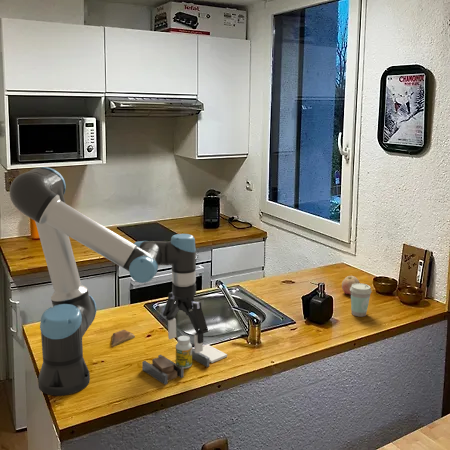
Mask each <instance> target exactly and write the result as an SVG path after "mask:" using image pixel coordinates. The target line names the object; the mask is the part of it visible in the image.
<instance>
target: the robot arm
mask: <svg viewBox="0 0 450 450" xmlns="http://www.w3.org/2000/svg"><path fill="white" fill-rule="evenodd" d="M65 194H66V181H65V178H64V177H63V175H62V174H61V173H60V172H59V171H57V170H56V169H54V168H51V167H47V166H41V167H36V168H32V169H31V170H29V171H27V172H24V173H21V174H19V175H17V176H16V177H15V178H14V179H13V181H12V182H11V184H10V187H9V197H10V201H11V203H12V205H13V206H14V207H15V208H16V209H17V210H18V211H20V213H22V215H23V214H24V215H25V216H26V217H28V218H29V219H31V220H33V221H34V222H35V226H36V228H37V229H36V230H37V233H38V237H39V240H40V243H41V247H42V251H43V252H42V253H43V255H44V259H45V262H46V266H47V270H48V273H49V277H50V281H51V285H52V289H53V293H52V295H51V296H50V300H51V304H52V307H51V306H50V307H48V308H47V309H46V310H44V311H43V312H42V313H41V314H42V315H40V325H39V329H40V337H41V350H42V365H41V367H40V372H39V375H38V377H37V378H38V379H37V383H38V389H39V390H40V391H41V392H42V393H43V394H46V395H48V396H49V395H50V396H56V397H58V396H59V397H60V396H68V395H71V394H72V395H73V394H75V393H79V392H81V391H82V390H84V389H85V388H86V387H87V386H88V385H89V384H90V381H91V377H90V375H91V374H90V369H89V368H88V366H87V364H86V361H85V358H84V354H83V353H84V352H83V351H84V349H83V337H84V336H85V334H86V332H87V331H88V329H89V328H90V326H91V325H92V324H93V322H94V321H95V318H96V315H97V303H96V301H95V299H94V297H93V296H92V295H90V294H89V289H88V287H87V286H86V285H83V284H82V282H81V278H80V274H79V270H78V266H77V263H76V259H75V255H74V251H73V247H72V243H71V239H73V240H74V241H76V242H78V243H79V244H81V245H83V246H85V247H86V248H88V249H90V250H92V251H93V252H95V253H97V254H98V255H100V256H102V257H104V258H105V259H106V260H109V261H111V262H112V263H114V264H116V265H117V266H119V267H121V268H123V269H125V270H126V271H128V273H129V275H130V278H131V279H132V280H134V281H135V282H136V283H141V284H144V283H148V282H149V283H150V281H152V279H154V277H155V276H156V275H157V273H158V269H159V267H160V266H171V282H172V285H171V288H172V289H171V292H168V297H167V301H166V304H165V307H164V310H163V313H162V316H163V317H165V318H166V320H167V329H168V333H167V334H168V336H167V337H168V340H172V339H175V338H177V319H176V315H177V314H178V313H179V311H182V312H183V313H185V315H186V316H188V318H189V320H190V322H191V325H192V326H193V328H194V331H195V332H194V334H193V336H194V350H195V353H198V352H201V351H203V346H204V335H205V334H206V333H209V328H208V325H207V321H206V319H205V315H204V312H203V309H202V302H201V301H195V295H197V283H196V281H197V277H196V276H197V272H196V270H197V268H196V266H197V265H196V264H197V263H196V262H197V261H196V259H197V258H196V257H197V254H196V253H197V252H196V250H197V248H196V239H195V237H194V235H192V234H189V233H177V234H174V235H172V236H171V238H170V240H169V241H163V240H162V241H159V240H158V241H153V240H152V241H151V240H150V241H148V240H142V241H135V242H131V241H130V240H129V239H126V238H124V237H123V236H121V235H119V234H117V233H116V232H114V231H113V230H111V229H109V228H108V227H106V226H104V225H103V224H101V223H99V222H97V221H96V220H94V219H93V218H91V217H89V216H87V215H86V214H84V213H82V212H80V211H79V210H77V209H75V208H74V207H73V206H71V205H69V204H67V203H66V200H65V196H64V195H65ZM70 238H71V239H70Z"/></svg>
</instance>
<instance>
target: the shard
mask: <svg viewBox="0 0 450 450" xmlns="http://www.w3.org/2000/svg"><path fill="white" fill-rule="evenodd" d="M135 337H136V335H135V334H133V333H132V332H130V331H128V330H126V329H122V330H119V331H116V332H113V333H112V338H111V347H112V348H113V347H116V346H119V345H120V344H122V343H124V342H126V341H129V340H131V339H134V338H135Z"/></svg>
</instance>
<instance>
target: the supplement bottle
mask: <svg viewBox="0 0 450 450" xmlns="http://www.w3.org/2000/svg"><path fill="white" fill-rule="evenodd" d="M192 348H193V345H192V343H191V337H190V336H189V335H180V336H178V337H177V343H176V344H175V363H176V364H177V365H179V366H181V367H182V368H184V370H185V369H189V368H190V367H192V365H193V359H192Z"/></svg>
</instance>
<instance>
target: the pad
mask: <svg viewBox="0 0 450 450" xmlns="http://www.w3.org/2000/svg"><path fill="white" fill-rule="evenodd" d="M200 353H202V354H204V355H205V356H207V357H209V358H210V359H209V363H211V364H213V363H215V362H219V361H221V360H222V359H224V358H226V357H227V358H228V354H227V353H225V352H224V351H222V350H219V349H218V348H216V347H214V346H211V345H209V344H205V345H203V351H201V352H200Z"/></svg>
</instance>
